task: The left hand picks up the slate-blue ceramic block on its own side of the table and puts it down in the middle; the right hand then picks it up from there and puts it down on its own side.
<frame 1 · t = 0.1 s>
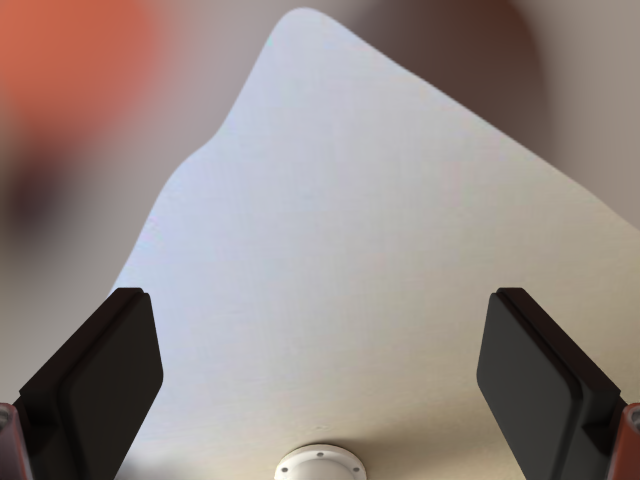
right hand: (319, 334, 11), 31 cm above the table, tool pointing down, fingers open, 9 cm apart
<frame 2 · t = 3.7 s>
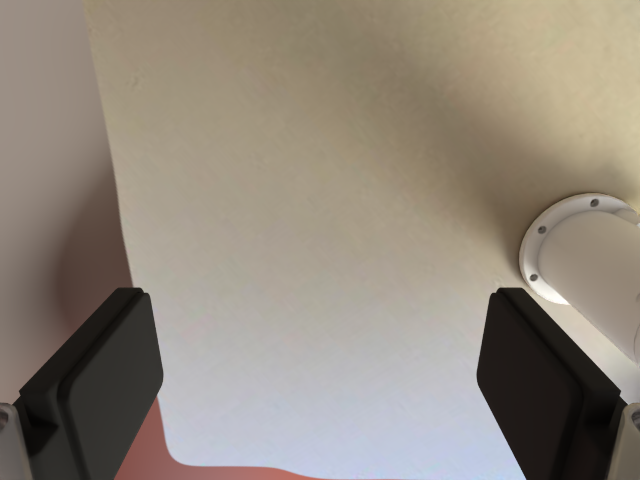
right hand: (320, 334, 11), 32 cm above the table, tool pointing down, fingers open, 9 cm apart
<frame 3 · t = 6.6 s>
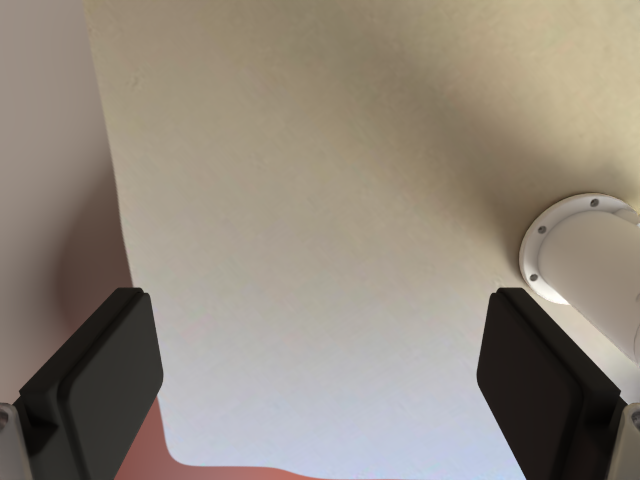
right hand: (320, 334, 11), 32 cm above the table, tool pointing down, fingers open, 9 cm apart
when the left hand's fingers open (5 cm above the table, at t = 9.3 s): block drops 1 cm, on the table.
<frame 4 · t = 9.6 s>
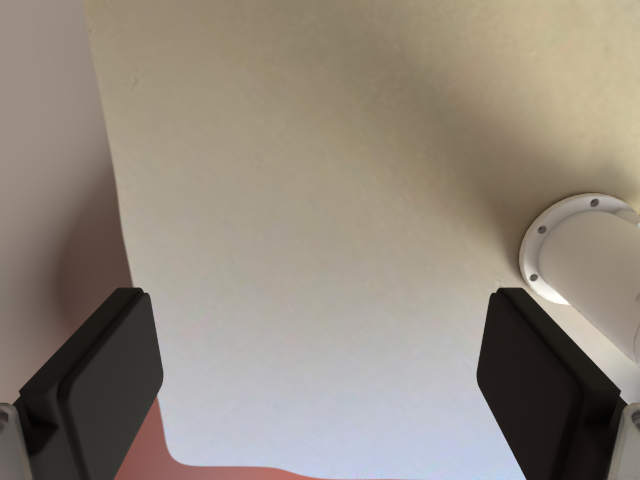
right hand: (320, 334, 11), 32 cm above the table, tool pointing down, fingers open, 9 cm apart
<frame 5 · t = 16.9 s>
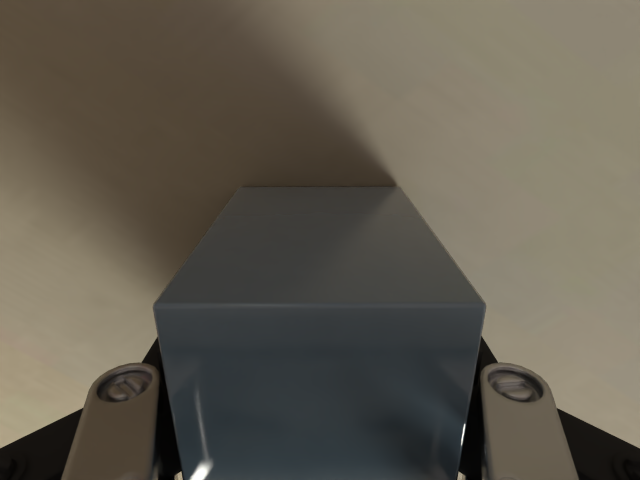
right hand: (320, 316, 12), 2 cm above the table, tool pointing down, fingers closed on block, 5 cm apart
block: (320, 286, 14), on the table, touching right hand
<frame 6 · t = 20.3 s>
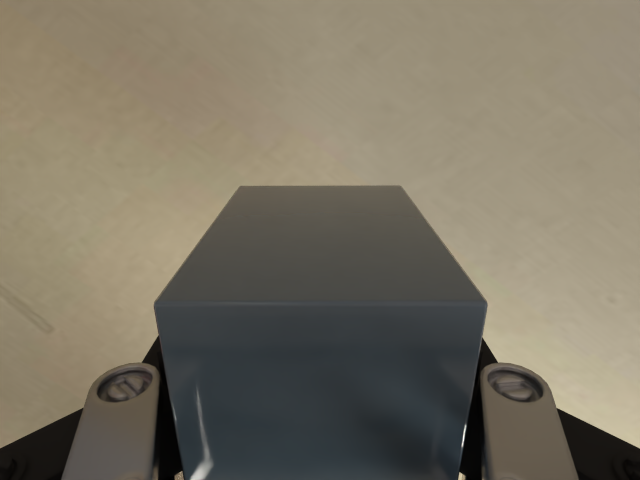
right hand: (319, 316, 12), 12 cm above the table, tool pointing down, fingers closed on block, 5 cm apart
block: (320, 285, 14), point 10 cm above the table, touching right hand
when the right hand's fingers open (3 cm above the table, at t = 24.0 s): block drops 1 cm, on the table.
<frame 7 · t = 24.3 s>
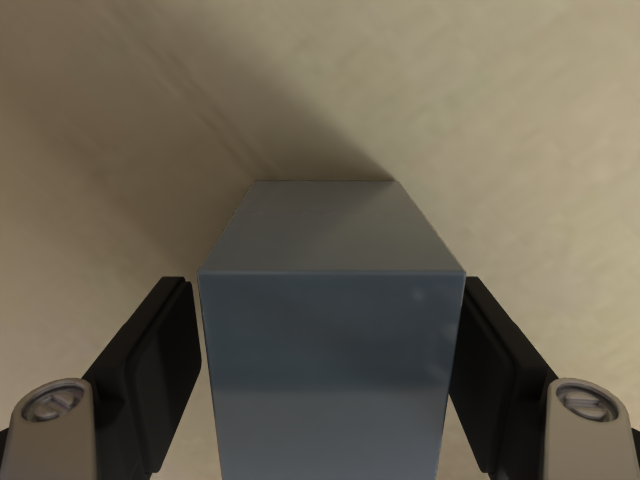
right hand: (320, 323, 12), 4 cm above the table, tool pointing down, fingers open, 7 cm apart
block: (325, 271, 15), on the table
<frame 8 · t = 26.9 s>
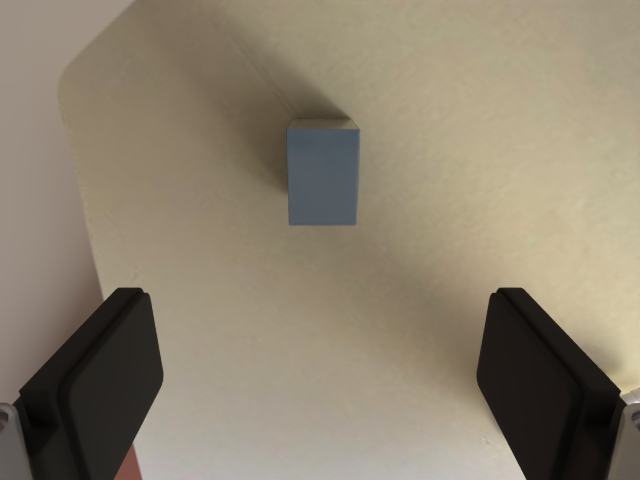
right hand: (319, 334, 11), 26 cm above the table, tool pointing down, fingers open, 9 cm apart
block: (322, 160, 36), on the table
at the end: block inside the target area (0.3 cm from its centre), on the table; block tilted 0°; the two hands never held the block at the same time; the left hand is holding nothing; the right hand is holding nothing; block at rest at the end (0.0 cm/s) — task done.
